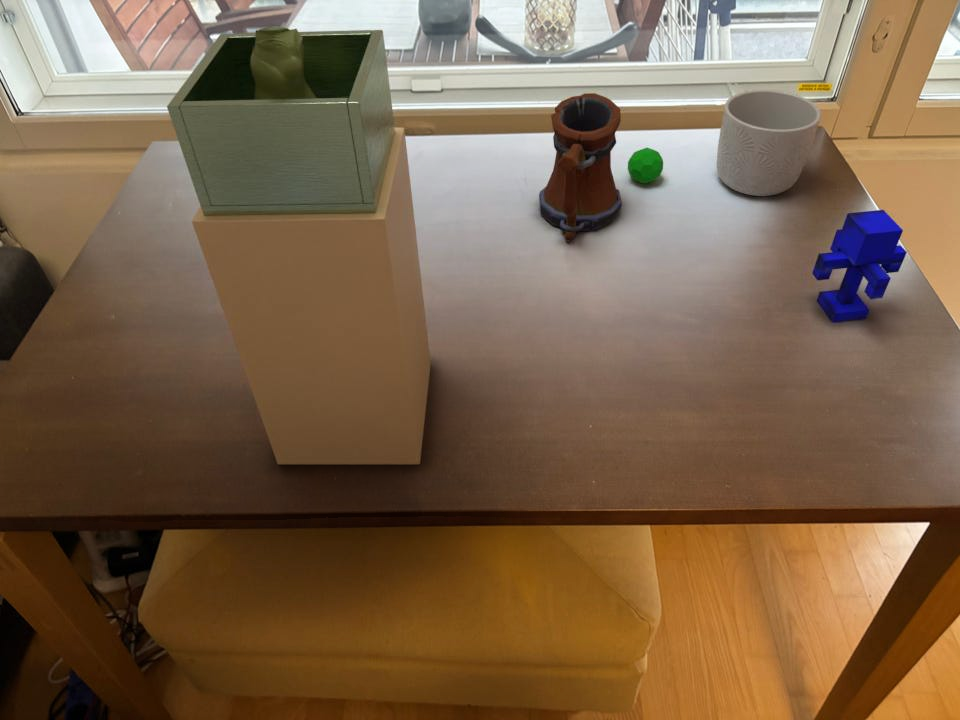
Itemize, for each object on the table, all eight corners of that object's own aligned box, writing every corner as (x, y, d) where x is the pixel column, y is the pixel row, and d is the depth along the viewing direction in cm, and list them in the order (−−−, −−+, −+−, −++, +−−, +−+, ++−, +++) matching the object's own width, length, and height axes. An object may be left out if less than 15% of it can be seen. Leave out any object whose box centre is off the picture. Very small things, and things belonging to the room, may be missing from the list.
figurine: (884, 304, 87) (923, 216, 79) (863, 340, 83) (901, 251, 75) (819, 281, 91) (850, 195, 82) (796, 314, 86) (826, 226, 78)
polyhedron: (666, 186, 107) (670, 156, 104) (634, 191, 107) (637, 161, 103) (652, 169, 111) (656, 140, 108) (621, 174, 110) (624, 144, 107)
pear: (270, 148, 60) (238, 17, 53) (337, 141, 60) (313, 11, 53) (266, 183, 56) (231, 47, 49) (338, 175, 56) (313, 40, 49)
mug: (605, 267, 94) (616, 159, 84) (517, 254, 97) (517, 148, 86) (626, 193, 107) (638, 91, 96) (547, 183, 109) (551, 83, 99)
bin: (277, 464, 73) (152, 111, 48) (305, 365, 83) (214, 30, 58) (419, 464, 72) (368, 107, 47) (430, 364, 82) (393, 25, 57)
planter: (789, 160, 112) (809, 89, 104) (808, 205, 103) (831, 131, 95) (705, 159, 113) (718, 89, 105) (716, 203, 104) (732, 130, 96)
